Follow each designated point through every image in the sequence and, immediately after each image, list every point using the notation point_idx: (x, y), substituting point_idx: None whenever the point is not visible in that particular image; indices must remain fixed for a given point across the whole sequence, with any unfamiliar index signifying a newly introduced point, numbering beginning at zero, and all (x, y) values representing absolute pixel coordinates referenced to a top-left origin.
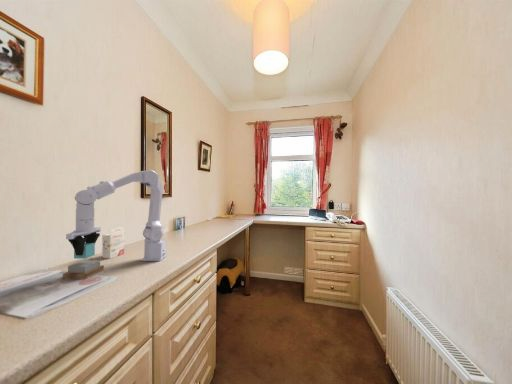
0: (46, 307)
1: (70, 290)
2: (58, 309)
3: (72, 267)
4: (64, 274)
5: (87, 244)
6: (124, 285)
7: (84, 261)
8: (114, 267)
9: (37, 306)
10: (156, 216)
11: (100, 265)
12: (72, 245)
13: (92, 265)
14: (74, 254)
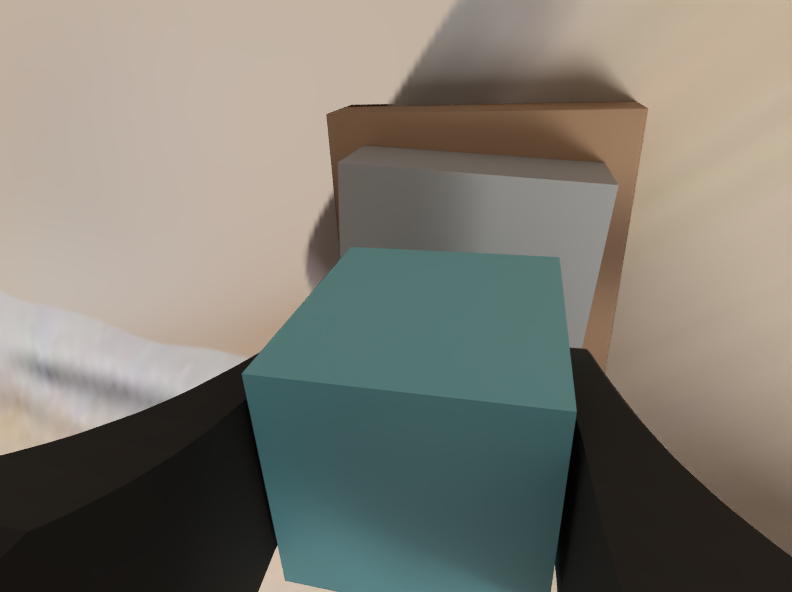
0: (23, 373)
1: (179, 358)
2: (36, 433)
3: (342, 225)
4: (332, 134)
5: (397, 561)
6: (295, 587)
7: (545, 238)
8: (658, 425)
9: (9, 324)
10: None
11: (606, 353)
12: (136, 420)
13: None
14: (327, 281)
